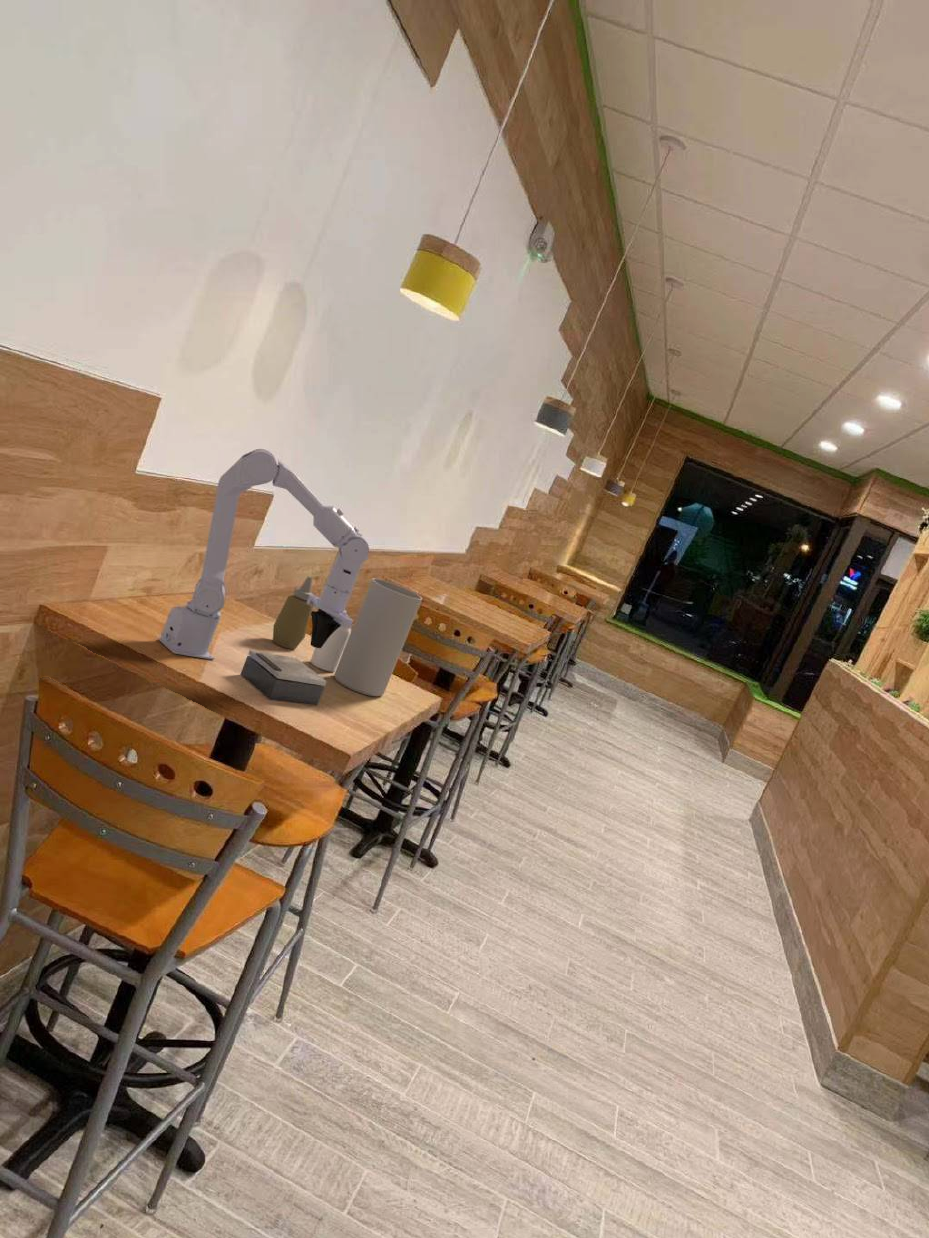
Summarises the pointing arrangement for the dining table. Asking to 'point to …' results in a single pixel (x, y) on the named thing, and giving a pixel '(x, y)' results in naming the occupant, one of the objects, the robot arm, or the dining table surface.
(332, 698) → the dining table surface
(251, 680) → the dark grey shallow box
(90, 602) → the dining table surface
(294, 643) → the squeeze bottle
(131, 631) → the dining table surface
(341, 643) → the can
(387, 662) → the cylinder vase
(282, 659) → the lid
